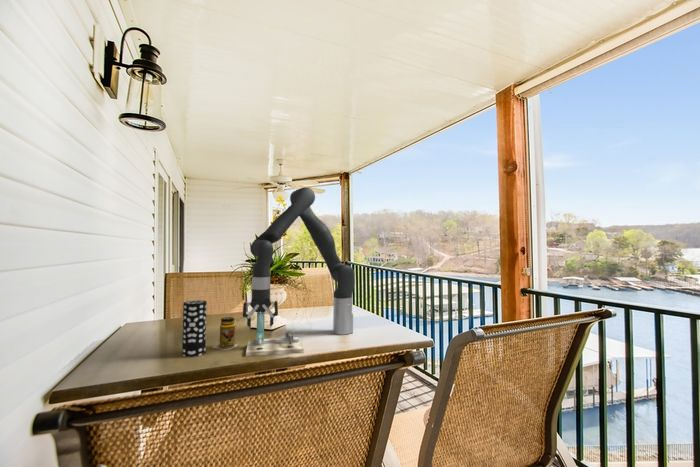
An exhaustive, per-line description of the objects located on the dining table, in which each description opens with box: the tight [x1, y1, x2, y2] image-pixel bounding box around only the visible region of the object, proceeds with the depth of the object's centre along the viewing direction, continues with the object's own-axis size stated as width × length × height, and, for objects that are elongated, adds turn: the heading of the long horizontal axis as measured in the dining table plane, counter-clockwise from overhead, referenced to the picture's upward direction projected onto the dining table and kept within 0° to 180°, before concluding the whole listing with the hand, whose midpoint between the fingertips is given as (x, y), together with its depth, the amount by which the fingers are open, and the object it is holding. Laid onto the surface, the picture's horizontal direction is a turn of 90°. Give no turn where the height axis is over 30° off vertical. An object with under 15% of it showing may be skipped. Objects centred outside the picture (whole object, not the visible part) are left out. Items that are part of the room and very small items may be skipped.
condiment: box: [211, 316, 239, 351], centre depth 142 cm, size 7×8×12 cm
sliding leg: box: [255, 312, 265, 346], centre depth 138 cm, size 3×9×12 cm, turn 14°
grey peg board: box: [245, 329, 305, 357], centre depth 139 cm, size 22×14×6 cm, turn 104°
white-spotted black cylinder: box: [181, 299, 208, 358], centre depth 133 cm, size 8×8×20 cm
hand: (260, 326), depth 141 cm, fingers open, 8 cm apart
